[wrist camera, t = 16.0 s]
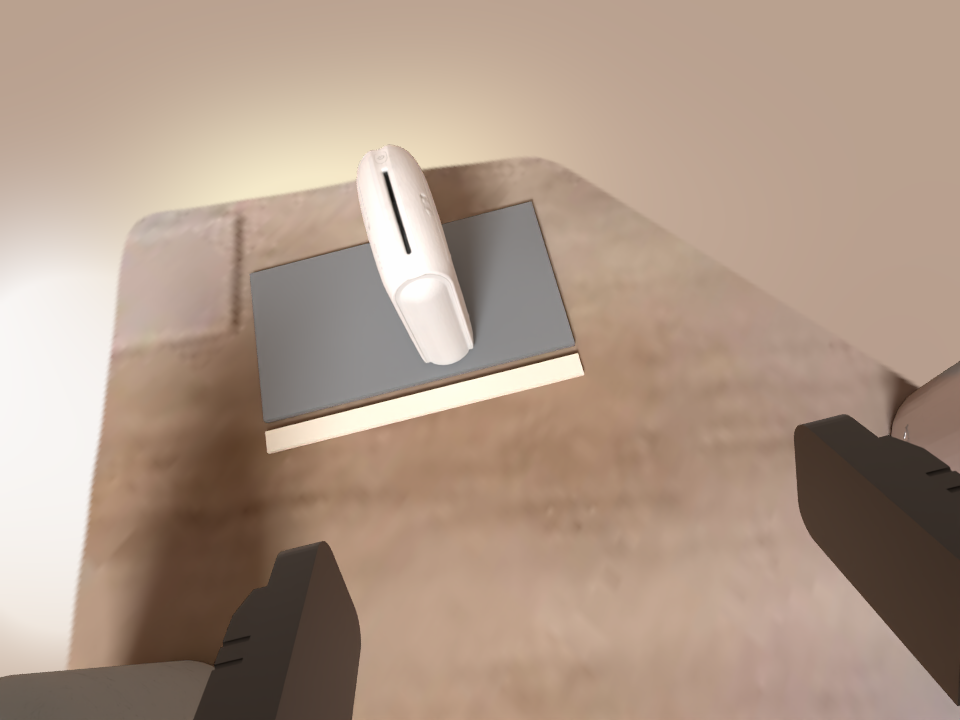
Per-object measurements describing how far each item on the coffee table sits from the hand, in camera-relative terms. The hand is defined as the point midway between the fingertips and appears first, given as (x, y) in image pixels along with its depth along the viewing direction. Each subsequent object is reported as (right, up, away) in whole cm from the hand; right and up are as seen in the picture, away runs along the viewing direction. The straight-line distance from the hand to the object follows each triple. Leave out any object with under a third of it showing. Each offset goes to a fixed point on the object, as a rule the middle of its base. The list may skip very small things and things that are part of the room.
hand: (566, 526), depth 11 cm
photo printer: (-5, +7, +36) cm, 37 cm away
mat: (-7, +6, +36) cm, 37 cm away
